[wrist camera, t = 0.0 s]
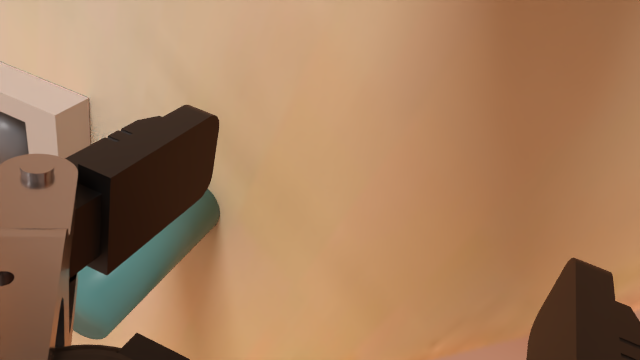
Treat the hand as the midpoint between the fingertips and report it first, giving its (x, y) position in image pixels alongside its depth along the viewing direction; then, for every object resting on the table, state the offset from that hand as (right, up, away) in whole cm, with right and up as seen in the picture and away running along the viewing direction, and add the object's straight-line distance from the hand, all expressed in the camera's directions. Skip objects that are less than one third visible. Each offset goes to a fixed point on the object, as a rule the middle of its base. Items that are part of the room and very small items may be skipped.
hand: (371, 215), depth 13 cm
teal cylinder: (-10, -1, +27) cm, 28 cm away
